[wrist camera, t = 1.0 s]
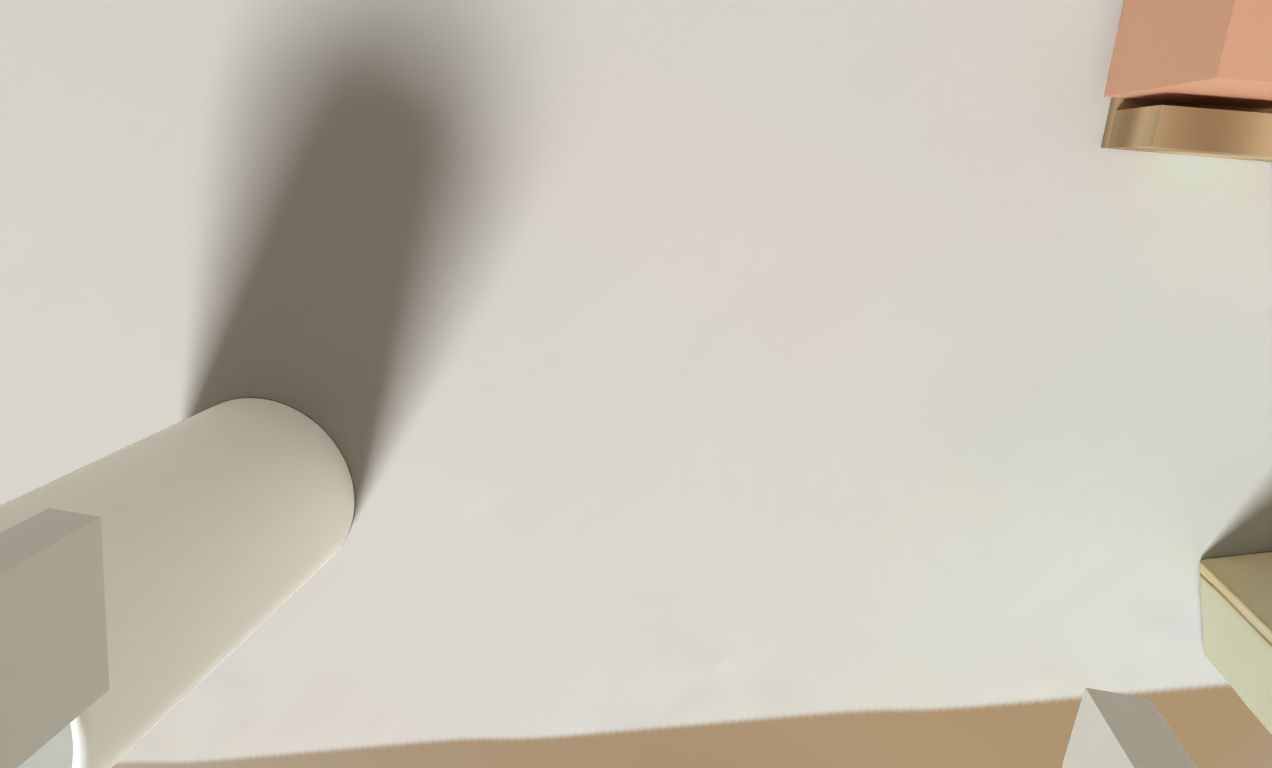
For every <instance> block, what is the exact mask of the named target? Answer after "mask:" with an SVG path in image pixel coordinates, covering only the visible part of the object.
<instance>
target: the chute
mask: <svg viewBox="0 0 1272 768" xmlns="http://www.w3.org/2000/svg"><path fill="white" fill-rule="evenodd" d="M1101 148H1112V149H1124V150H1136V151H1148V152H1160V153H1172V154H1184V155H1196V156H1208V157H1220V158H1232V159H1244V160H1256V161H1268V162H1272V108H1268V109H1258V108H1245V107H1232V106H1219V105H1206V104H1193V103H1180V102H1168V101H1155V100H1142V99H1129V98H1116V97H1112V99H1111V103H1110V108H1109V113H1108V117H1107V122H1106V127H1105V131H1104V136H1103V141H1102V145H1101Z"/></svg>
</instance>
